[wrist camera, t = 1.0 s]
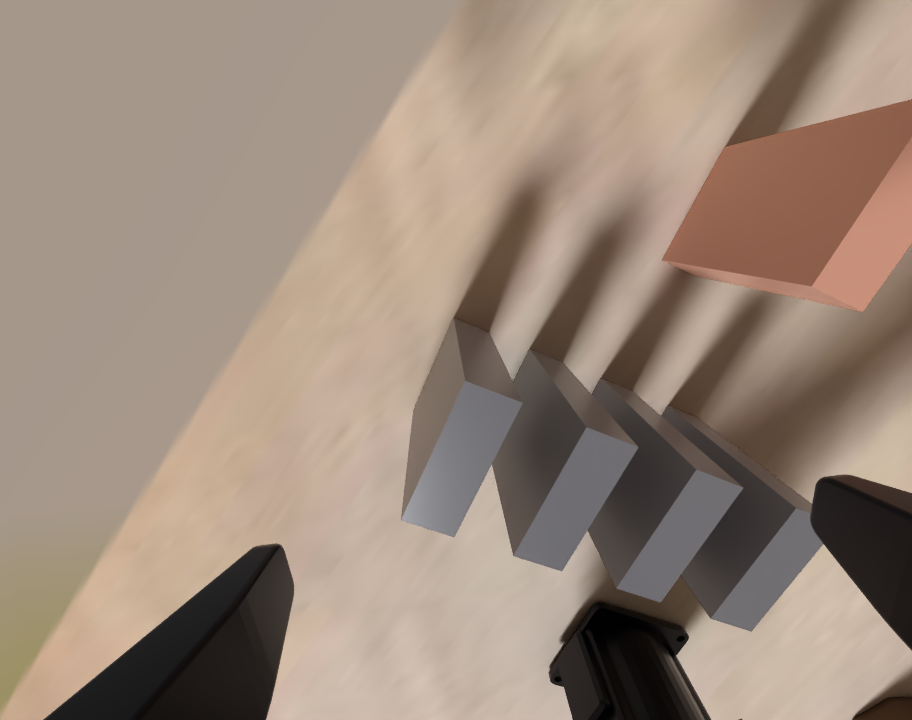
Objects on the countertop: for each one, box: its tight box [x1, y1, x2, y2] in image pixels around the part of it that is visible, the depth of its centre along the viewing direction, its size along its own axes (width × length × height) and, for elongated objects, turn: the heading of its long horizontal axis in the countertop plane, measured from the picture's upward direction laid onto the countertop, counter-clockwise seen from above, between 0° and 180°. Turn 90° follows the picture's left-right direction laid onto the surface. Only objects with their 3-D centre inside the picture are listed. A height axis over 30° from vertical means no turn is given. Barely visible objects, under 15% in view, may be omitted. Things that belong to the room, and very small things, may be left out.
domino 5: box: [401, 318, 523, 537], centre depth 16 cm, size 2×5×8 cm, turn 157°
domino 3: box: [588, 378, 743, 603], centre depth 18 cm, size 2×5×8 cm, turn 157°
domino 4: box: [492, 349, 638, 571], centre depth 17 cm, size 2×5×8 cm, turn 157°
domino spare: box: [662, 100, 912, 312], centre depth 15 cm, size 2×5×8 cm, turn 157°
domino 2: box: [662, 406, 823, 631], centre depth 18 cm, size 2×5×8 cm, turn 157°
